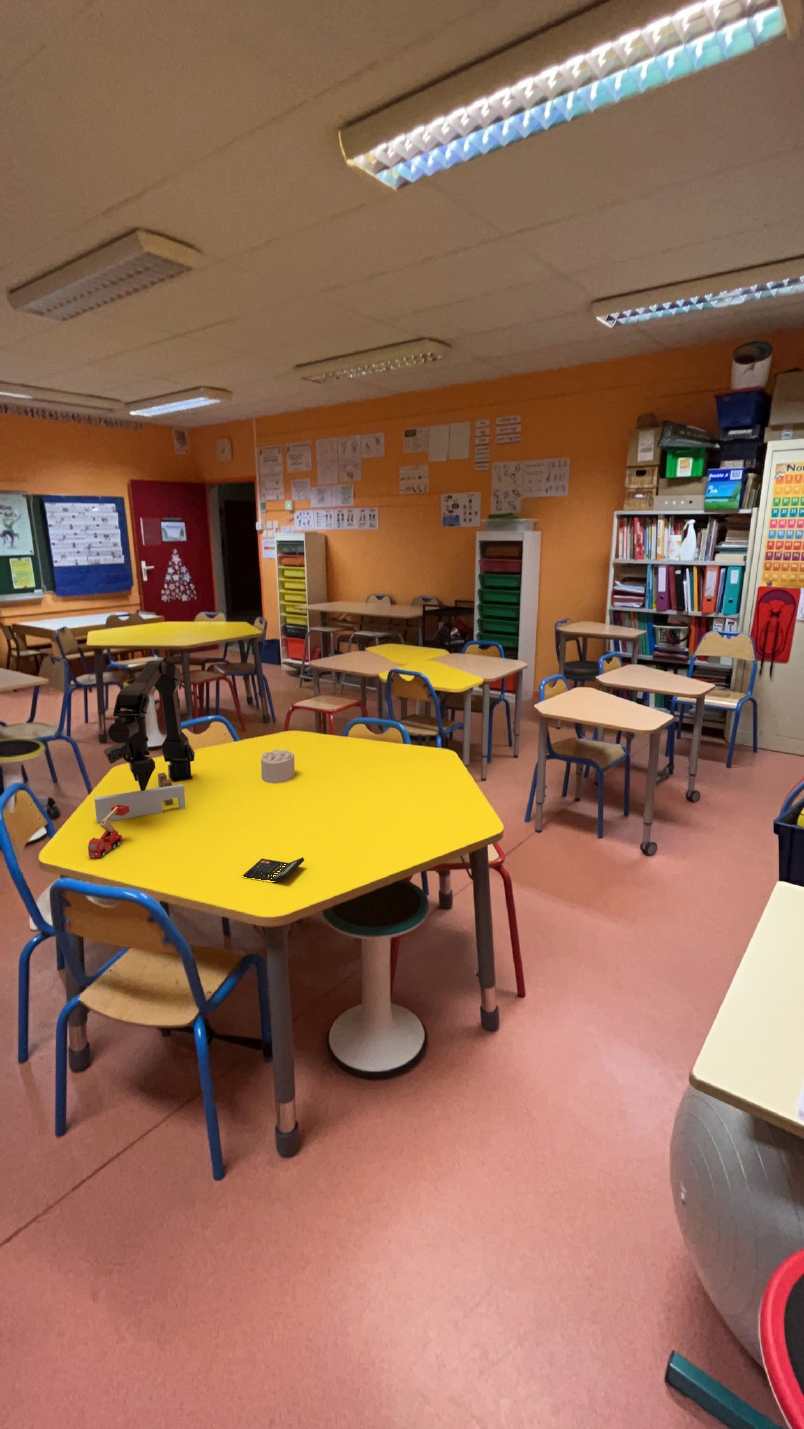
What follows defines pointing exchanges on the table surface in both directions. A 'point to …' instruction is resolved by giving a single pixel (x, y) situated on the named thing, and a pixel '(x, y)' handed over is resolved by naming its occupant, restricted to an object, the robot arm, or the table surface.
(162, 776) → the walnut stand
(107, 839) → the toy fire truck
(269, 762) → the lumpy-topped squat cylinder
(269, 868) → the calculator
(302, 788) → the table surface
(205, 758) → the table surface
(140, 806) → the grey board
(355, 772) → the table surface
